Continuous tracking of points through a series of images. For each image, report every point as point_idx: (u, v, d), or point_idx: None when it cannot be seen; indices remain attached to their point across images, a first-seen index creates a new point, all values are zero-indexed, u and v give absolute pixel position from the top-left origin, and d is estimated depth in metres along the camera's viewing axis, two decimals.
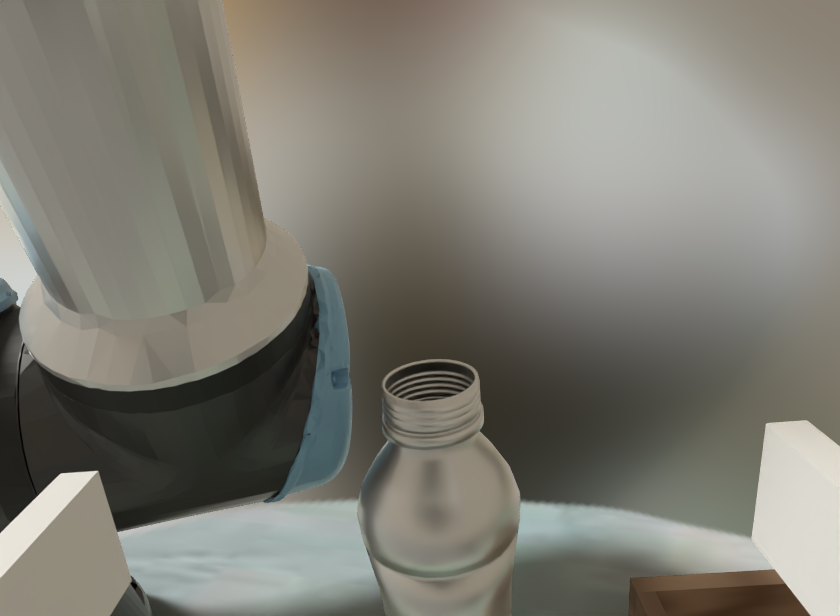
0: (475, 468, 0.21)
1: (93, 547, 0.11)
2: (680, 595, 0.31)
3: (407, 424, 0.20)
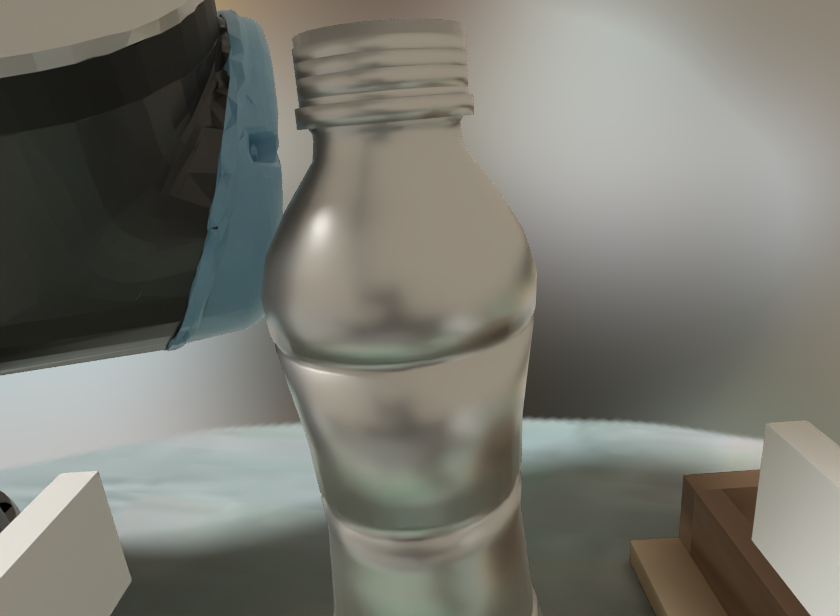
0: (459, 179, 0.12)
1: (93, 547, 0.11)
2: None
3: (332, 76, 0.11)
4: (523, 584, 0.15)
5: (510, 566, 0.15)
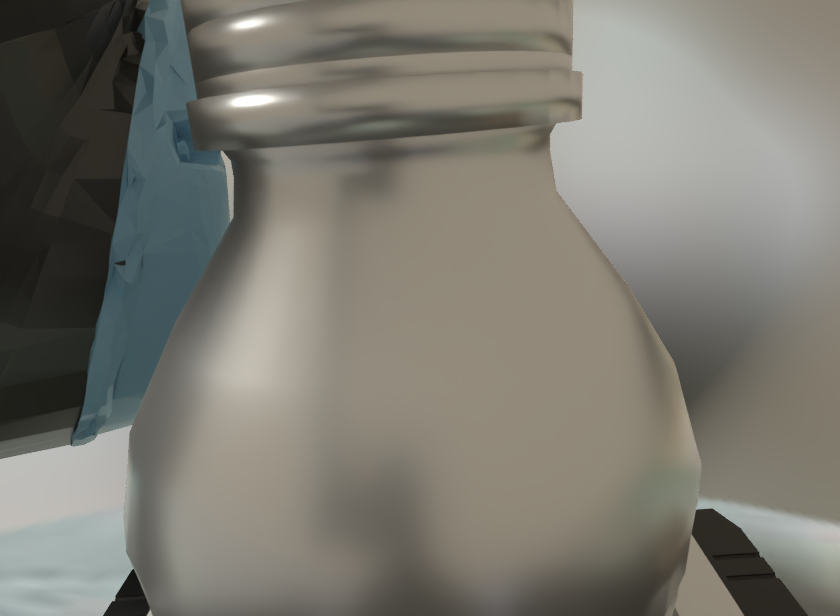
0: (560, 269, 0.05)
1: None
2: None
3: (254, 20, 0.04)
4: None
5: None
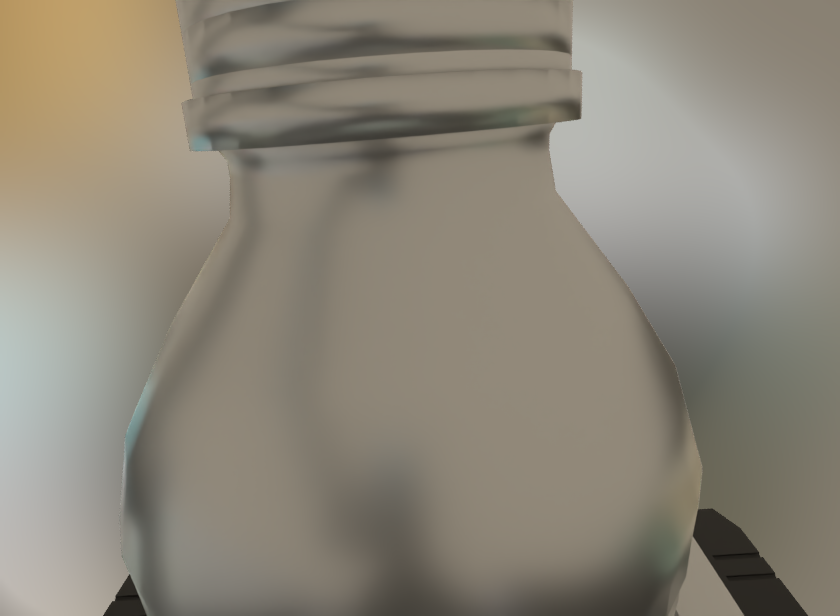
0: (560, 271, 0.05)
1: None
2: None
3: (249, 18, 0.04)
4: None
5: None
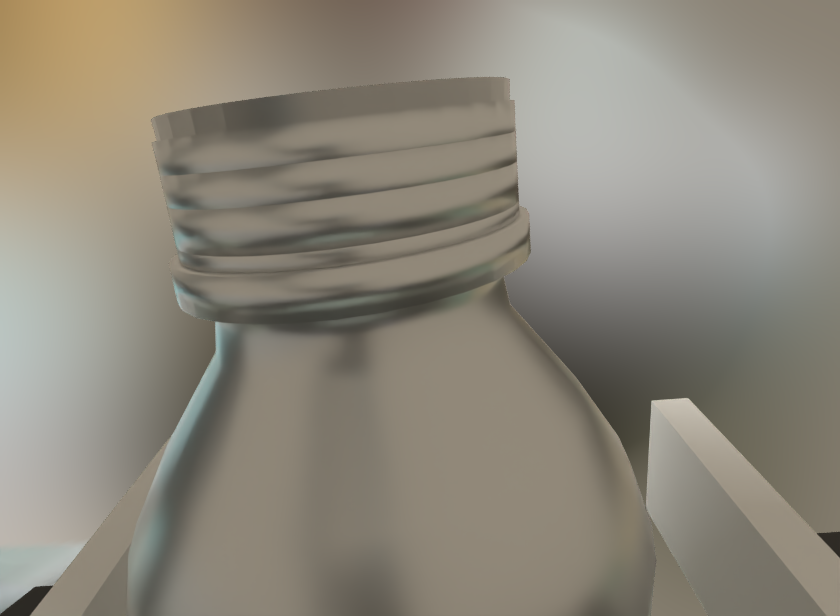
0: (511, 405, 0.05)
1: None
2: None
3: (224, 217, 0.05)
4: None
5: None
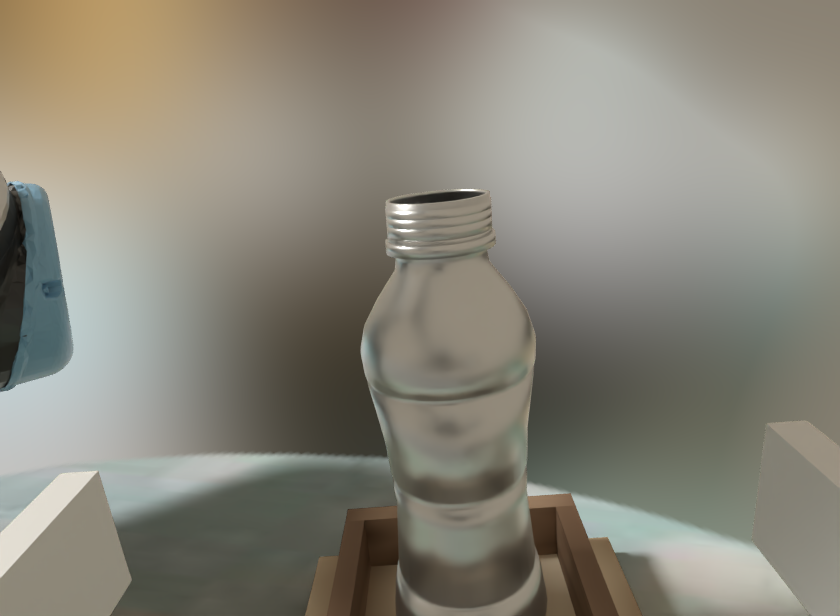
0: (488, 287, 0.19)
1: (93, 547, 0.11)
2: (391, 524, 0.30)
3: (414, 232, 0.18)
4: (529, 542, 0.23)
5: (520, 529, 0.22)
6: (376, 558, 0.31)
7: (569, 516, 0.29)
